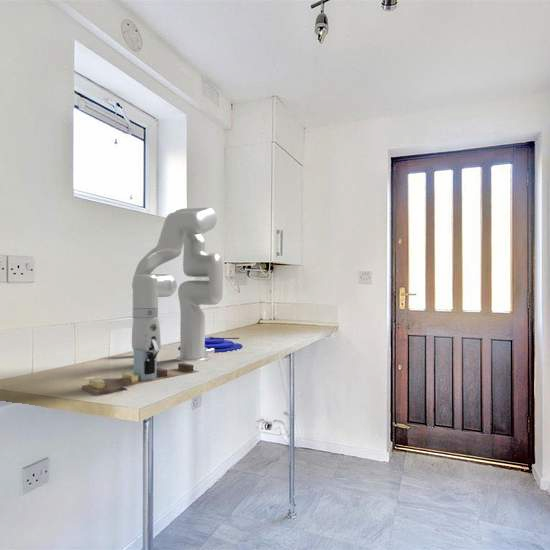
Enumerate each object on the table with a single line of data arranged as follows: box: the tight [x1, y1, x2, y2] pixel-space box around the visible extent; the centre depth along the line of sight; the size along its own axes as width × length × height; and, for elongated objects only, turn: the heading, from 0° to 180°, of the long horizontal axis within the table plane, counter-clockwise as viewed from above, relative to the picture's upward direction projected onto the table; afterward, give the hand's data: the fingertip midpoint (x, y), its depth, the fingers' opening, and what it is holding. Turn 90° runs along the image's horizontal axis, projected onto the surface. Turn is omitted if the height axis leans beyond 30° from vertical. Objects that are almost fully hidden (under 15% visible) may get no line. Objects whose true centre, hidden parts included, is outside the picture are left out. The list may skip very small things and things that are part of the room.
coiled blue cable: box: [178, 336, 243, 354], centre depth 189 cm, size 30×6×30 cm
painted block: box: [133, 348, 158, 381], centre depth 123 cm, size 5×5×9 cm
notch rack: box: [81, 362, 200, 396], centre depth 123 cm, size 34×10×3 cm, turn 137°
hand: (144, 371), depth 123 cm, fingers closed on painted block, 4 cm apart
